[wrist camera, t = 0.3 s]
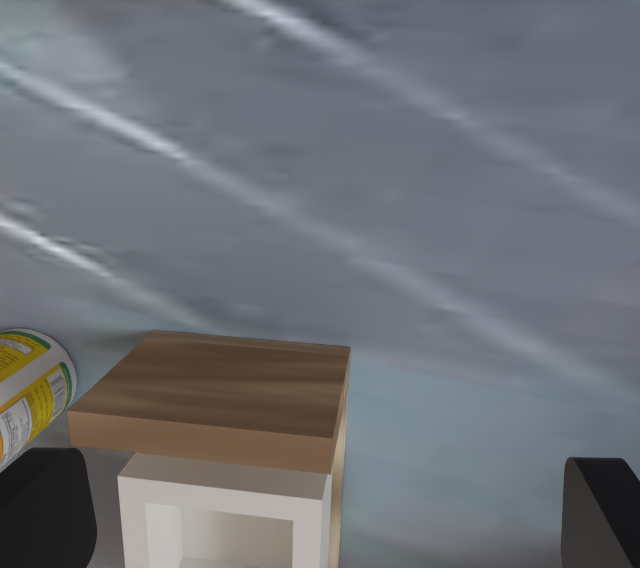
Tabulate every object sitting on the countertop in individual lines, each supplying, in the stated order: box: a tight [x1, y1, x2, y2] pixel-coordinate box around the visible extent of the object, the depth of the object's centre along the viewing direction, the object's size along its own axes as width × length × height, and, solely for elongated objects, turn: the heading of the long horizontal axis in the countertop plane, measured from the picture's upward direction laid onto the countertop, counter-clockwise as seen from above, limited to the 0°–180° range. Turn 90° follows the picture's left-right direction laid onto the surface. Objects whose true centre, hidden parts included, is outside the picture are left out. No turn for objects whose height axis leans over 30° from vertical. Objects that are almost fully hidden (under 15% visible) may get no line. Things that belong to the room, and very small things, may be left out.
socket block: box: [117, 453, 333, 568], centre depth 28 cm, size 9×9×4 cm
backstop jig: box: [67, 330, 351, 568], centre depth 26 cm, size 14×10×8 cm
